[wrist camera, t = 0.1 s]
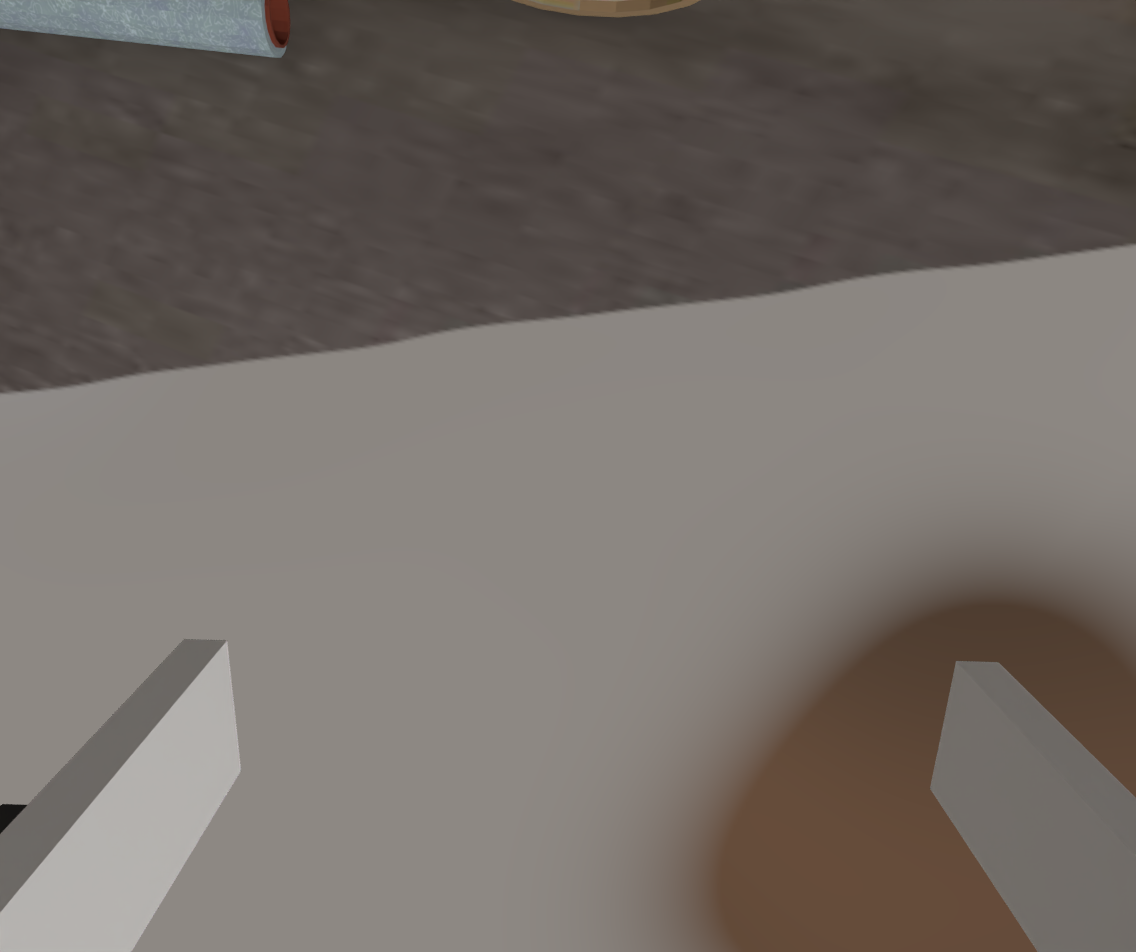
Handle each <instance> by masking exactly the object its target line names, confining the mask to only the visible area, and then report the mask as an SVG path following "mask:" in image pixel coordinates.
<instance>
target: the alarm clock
mask: <svg viewBox="0 0 1136 952" xmlns="http://www.w3.org/2000/svg"><path fill="white" fill-rule="evenodd" d="M512 1H516V2H519V3H522V4H526V5H529V6H532V7H536V8H539V9H544V10H550V11H556V12H562V13H568V14H573V15H580V16H602V17H628V16H639V15H651V14H658V13H662V12H666V11H670V10H674V9H678V8H683V7H687V6H690V5H692V4H694V3H696V2H698V1H700V0H512Z"/></svg>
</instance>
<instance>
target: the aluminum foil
mask: <svg viewBox="0 0 1136 952" xmlns="http://www.w3.org/2000/svg"><path fill="white" fill-rule="evenodd" d="M0 28H4V29H14V30H23V31H33V32H42V33H51V34H61V35H70V36H79V37H89V38H98V39H108V40H117V41H126V42H136V43H145V44H154V45H164V46H173V47H183V48H192V49H201V50H211V51H220V52H229V53H239V54H248V55H258V56H267V57H282V55H283V54H284V52H285V50H286V45H287V43H288V39H289V34H290V11H289V4H288V0H0Z"/></svg>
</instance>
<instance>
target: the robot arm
mask: <svg viewBox="0 0 1136 952" xmlns="http://www.w3.org/2000/svg"><path fill="white" fill-rule="evenodd" d="M236 729H237V728H236V719H235V709H234V700H233V691H232V681H231V672H230V662H229V653H228V643H227V641H226V640H193V639H191V640H190V639H184V640H183V641H182V642H181V643H180V644H179V645H178V646H177V647H176V648H175V650H173V652H172V653H171V654H170V655H169V656H168V657H167V658H166V659H165V660H164V661H163V662H162V663H161V664H160V665H159V666H158V667H157V668H156V669H155V671H154V672H153V673H152V674H151V675H150V676H149V677H148V678H147V679H146V680H145V681H144V682H143V683H142V684H141V685H140V686H139V688H138V689H137V690H136V691H135V692H134V693H133V694H132V695H131V696H130V697H129V698H128V699H127V700H126V701H125V703H123V704H122V706H121V707H120V708H119V709H118V710H117V711H116V712H115V713H114V714H113V715H112V716H111V717H110V718H109V719H108V720H107V722H105V724H104V725H103V726H102V727H101V728H100V729H99V730H98V731H97V732H96V733H95V734H94V735H93V737H91V738H90V739H89V740H88V742H87V743H86V744H85V745H84V746H83V747H82V748H81V749H80V750H79V751H78V752H77V753H76V754H75V755H74V757H72V759H71V760H70V761H69V762H68V763H67V764H66V765H65V766H64V767H63V768H62V769H61V770H60V771H59V772H58V773H57V774H56V775H55V777H54V778H53V779H52V780H51V781H50V782H49V783H48V784H47V785H46V786H45V787H44V788H43V789H42V790H41V791H40V792H39V793H38V795H37V796H36V797H35V798H34V799H33V800H32V801H31V802H30V803H29V804H28V805H12V804H2V805H1V806H0V952H131V951H132V950H133V948H134V946H135V945H136V943H137V941H138V940H139V938H140V936H141V935H142V933H143V932H144V930H145V928H146V927H147V925H148V923H149V922H150V920H151V918H152V917H153V915H154V913H155V912H156V910H157V908H158V907H159V905H160V903H161V902H162V900H163V899H164V897H165V895H166V894H167V892H168V890H169V889H170V887H171V885H172V883H173V882H174V880H175V879H176V877H177V875H178V874H179V872H180V871H181V869H182V867H183V865H184V864H185V862H186V861H187V859H188V857H189V856H190V854H191V852H192V850H193V849H194V847H195V846H196V844H197V842H198V841H199V839H200V838H201V836H202V834H203V833H204V831H205V829H206V828H207V826H208V824H209V823H210V821H211V819H212V818H213V816H214V814H215V813H216V811H217V809H218V808H219V806H220V804H221V803H222V801H223V799H224V798H225V796H226V794H227V793H228V791H229V790H230V788H231V786H232V785H233V783H234V781H235V780H236V778H237V776H238V775H239V773H240V771H241V766H240V756H239V748H238V737H237V730H236ZM930 789H931V791H932V792H933V793H934V795H935V797H936V798H937V800H938V801H939V803H940V804H941V806H942V807H943V809H944V810H945V812H946V813H947V815H948V816H949V818H950V819H951V821H952V822H953V824H954V825H955V827H956V828H957V830H958V831H959V833H960V834H961V836H962V838H963V839H964V840H965V842H966V844H967V845H968V847H969V848H970V850H971V851H972V853H973V854H974V856H975V857H976V859H977V860H978V862H979V863H980V864H981V866H982V868H983V869H984V871H985V872H986V874H987V875H988V877H989V878H990V880H991V881H992V883H993V884H994V886H995V888H996V889H997V890H998V892H999V894H1000V895H1001V896H1002V898H1003V900H1004V901H1005V903H1006V904H1007V906H1008V907H1009V909H1010V910H1011V912H1012V913H1013V915H1014V916H1015V918H1016V919H1017V921H1018V922H1019V924H1020V925H1021V927H1022V928H1023V930H1024V931H1025V933H1026V934H1027V936H1028V937H1029V939H1030V941H1031V942H1032V944H1033V945H1034V947H1035V948H1036V950H1037V951H1038V952H1136V798H1135V797H1134V796H1133V795H1132V794H1131V793H1130V792H1129V791H1128V790H1127V789H1126V788H1125V787H1124V786H1123V785H1122V784H1121V783H1120V782H1119V781H1118V780H1117V779H1116V778H1115V777H1114V776H1113V775H1112V774H1111V773H1110V772H1109V771H1108V770H1107V769H1106V768H1105V767H1104V766H1103V765H1102V764H1101V763H1100V762H1099V761H1098V760H1097V759H1096V758H1095V757H1094V756H1093V755H1092V754H1091V753H1090V752H1089V751H1088V750H1086V748H1085V747H1084V746H1083V745H1082V744H1081V743H1080V742H1079V741H1078V740H1077V739H1076V738H1074V736H1072V735H1071V734H1070V733H1069V732H1068V731H1067V730H1066V729H1065V728H1064V727H1063V726H1062V725H1061V724H1060V723H1059V722H1058V721H1057V720H1056V719H1055V718H1054V717H1053V716H1052V715H1051V714H1050V713H1049V712H1048V711H1047V710H1046V709H1045V708H1044V707H1043V706H1042V705H1041V704H1040V703H1039V702H1038V701H1037V700H1036V699H1035V698H1034V697H1033V696H1032V695H1031V694H1030V693H1029V692H1028V691H1027V690H1026V689H1025V688H1024V687H1023V686H1022V685H1021V684H1020V683H1019V682H1018V681H1017V680H1016V679H1015V678H1014V677H1013V676H1012V675H1011V674H1010V673H1009V672H1008V671H1007V670H1006V669H1005V668H1003V667H1002V666H1001V665H1000V664H999V663H998V662H968V661H967V662H966V661H956V666H955V670H954V675H953V680H952V685H951V690H950V694H949V700H948V704H947V709H946V714H945V720H944V724H943V729H942V734H941V738H940V743H939V748H938V753H937V758H936V763H935V768H934V773H933V778H932V782H931V787H930Z"/></svg>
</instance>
